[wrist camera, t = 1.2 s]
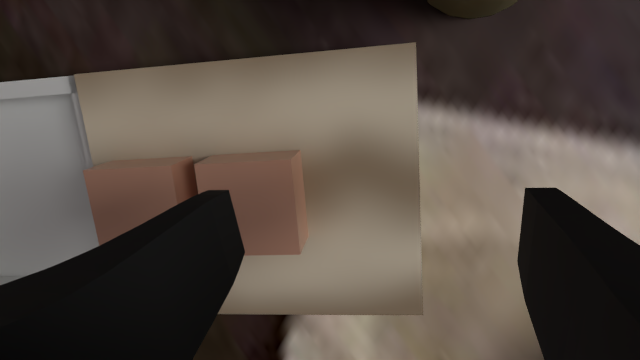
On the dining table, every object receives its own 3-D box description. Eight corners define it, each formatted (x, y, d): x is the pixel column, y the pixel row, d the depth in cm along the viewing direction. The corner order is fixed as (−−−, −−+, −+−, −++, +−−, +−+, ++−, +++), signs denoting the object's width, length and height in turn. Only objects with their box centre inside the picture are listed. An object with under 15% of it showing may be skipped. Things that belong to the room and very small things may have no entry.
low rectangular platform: (416, 279, 23) (423, 315, 19) (159, 280, 25) (124, 313, 22) (410, 47, 20) (415, 42, 17) (120, 73, 22) (73, 74, 19)
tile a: (308, 236, 19) (300, 254, 17) (225, 238, 20) (208, 256, 18) (300, 150, 18) (290, 159, 16) (212, 154, 19) (193, 164, 17)
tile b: (205, 238, 20) (186, 256, 18) (127, 240, 21) (102, 257, 19) (192, 156, 19) (170, 165, 17) (111, 160, 20) (82, 170, 18)
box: (154, 281, 25) (130, 303, 23) (0, 282, 27) (-37, 302, 25) (115, 74, 22) (82, 74, 20) (-55, 89, 24) (-104, 91, 22)
